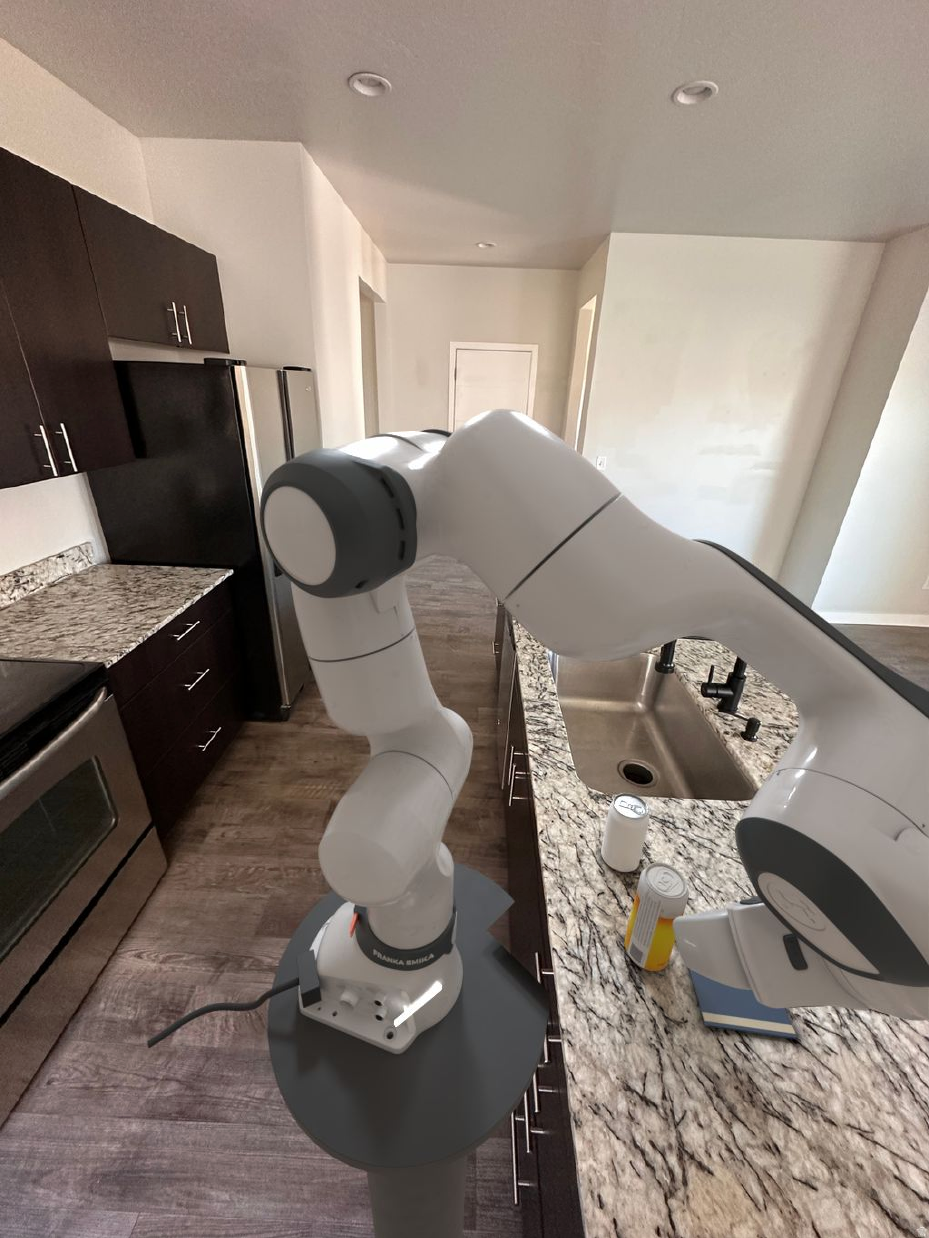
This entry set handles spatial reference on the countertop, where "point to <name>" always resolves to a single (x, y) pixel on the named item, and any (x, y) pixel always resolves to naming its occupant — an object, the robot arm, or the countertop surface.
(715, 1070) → the countertop surface
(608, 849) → the can
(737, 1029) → the blue striped coaster
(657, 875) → the beer can
